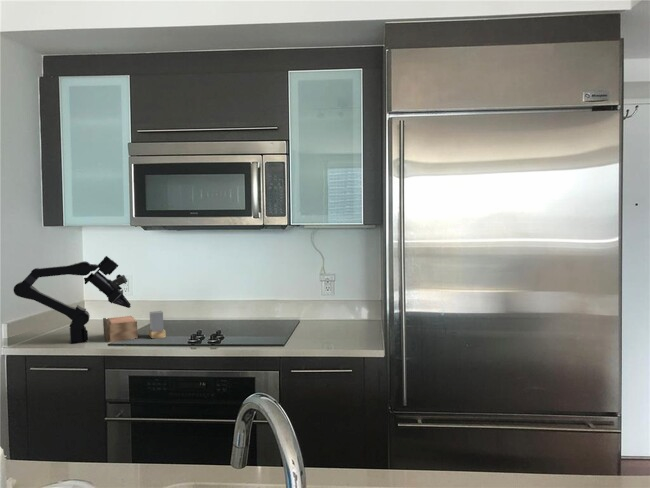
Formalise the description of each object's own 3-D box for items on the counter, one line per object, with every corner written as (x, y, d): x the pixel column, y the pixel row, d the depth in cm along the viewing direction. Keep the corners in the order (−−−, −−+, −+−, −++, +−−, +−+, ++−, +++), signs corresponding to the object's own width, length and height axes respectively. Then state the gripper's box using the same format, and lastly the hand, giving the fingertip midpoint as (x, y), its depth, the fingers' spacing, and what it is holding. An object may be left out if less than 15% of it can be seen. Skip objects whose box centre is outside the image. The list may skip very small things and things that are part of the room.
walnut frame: (108, 342, 245) (107, 322, 245) (103, 337, 256) (103, 318, 256) (137, 338, 251) (136, 319, 250) (132, 333, 262) (131, 315, 262)
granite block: (151, 331, 250) (150, 313, 249) (150, 329, 254) (149, 311, 254) (163, 330, 252) (162, 312, 251) (162, 328, 256) (161, 310, 256)
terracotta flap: (110, 324, 247) (109, 321, 246) (106, 320, 255) (106, 318, 255) (135, 321, 251) (135, 318, 251) (131, 317, 260) (130, 315, 260)
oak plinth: (151, 339, 249) (151, 332, 249) (148, 336, 254) (148, 329, 254) (165, 337, 252) (165, 330, 252) (162, 334, 257) (162, 328, 257)
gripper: (115, 271, 243) (143, 295, 248) (115, 267, 261) (142, 290, 265) (96, 290, 241) (125, 314, 245) (97, 286, 259) (124, 308, 263)
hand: (130, 306), depth 255 cm, fingers open, 6 cm apart
